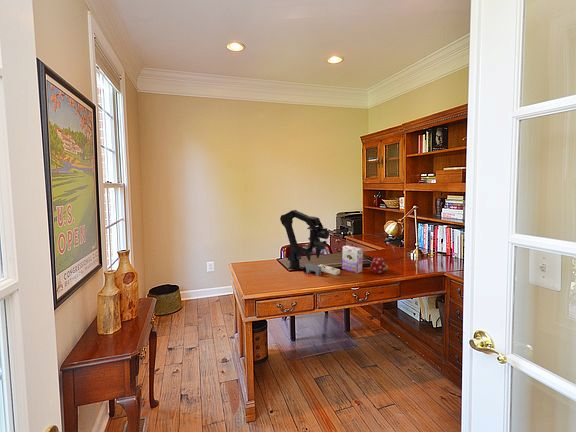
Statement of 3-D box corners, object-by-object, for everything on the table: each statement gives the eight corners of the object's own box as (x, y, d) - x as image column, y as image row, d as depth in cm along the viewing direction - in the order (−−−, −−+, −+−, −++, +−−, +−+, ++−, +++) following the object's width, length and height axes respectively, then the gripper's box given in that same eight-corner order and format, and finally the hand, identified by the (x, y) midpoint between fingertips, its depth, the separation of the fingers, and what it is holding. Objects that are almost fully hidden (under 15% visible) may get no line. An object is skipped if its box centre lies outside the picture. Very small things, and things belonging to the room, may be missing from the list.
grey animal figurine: (305, 272, 220) (305, 264, 219) (308, 271, 222) (308, 263, 221) (318, 276, 213) (318, 267, 212) (321, 275, 215) (321, 266, 214)
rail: (316, 270, 225) (316, 266, 224) (321, 268, 228) (321, 264, 228) (335, 275, 214) (336, 271, 214) (340, 273, 218) (340, 269, 217)
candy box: (362, 271, 222) (363, 248, 219) (357, 273, 218) (358, 250, 215) (346, 267, 232) (347, 244, 229) (341, 268, 228) (342, 246, 225)
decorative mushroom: (387, 256, 228) (375, 252, 218) (396, 268, 221) (384, 265, 211) (376, 267, 232) (364, 263, 223) (385, 279, 225) (373, 276, 215)
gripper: (315, 241, 201) (314, 265, 204) (332, 236, 214) (331, 258, 217) (301, 238, 208) (301, 261, 211) (318, 233, 222) (318, 255, 225)
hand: (313, 259), depth 216 cm, fingers open, 9 cm apart
